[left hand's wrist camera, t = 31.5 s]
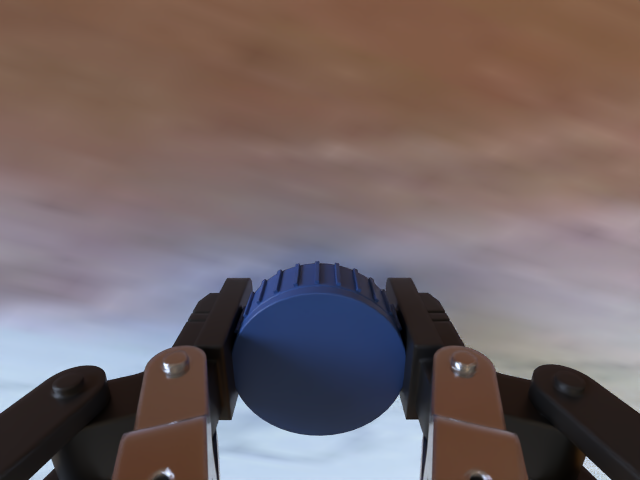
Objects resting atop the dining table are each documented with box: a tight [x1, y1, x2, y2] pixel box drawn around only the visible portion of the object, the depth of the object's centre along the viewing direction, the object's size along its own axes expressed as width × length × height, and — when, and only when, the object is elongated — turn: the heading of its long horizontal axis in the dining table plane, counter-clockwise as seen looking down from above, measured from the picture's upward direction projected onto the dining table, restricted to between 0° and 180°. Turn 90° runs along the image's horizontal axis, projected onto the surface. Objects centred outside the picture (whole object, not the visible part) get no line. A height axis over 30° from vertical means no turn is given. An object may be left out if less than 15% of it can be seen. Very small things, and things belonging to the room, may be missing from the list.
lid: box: [232, 261, 406, 436], centre depth 10 cm, size 5×5×2 cm
